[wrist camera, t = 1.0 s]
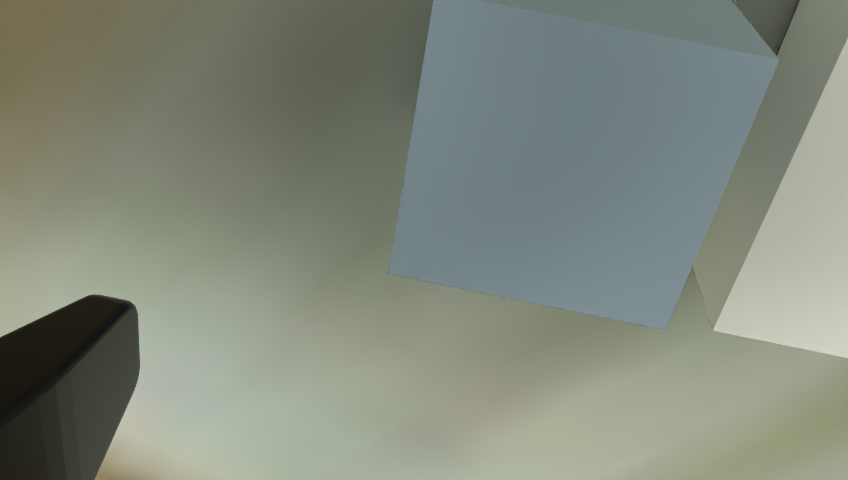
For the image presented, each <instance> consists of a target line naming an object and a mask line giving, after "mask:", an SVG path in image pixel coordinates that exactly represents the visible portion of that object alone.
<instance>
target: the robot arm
mask: <svg viewBox="0 0 848 480" xmlns="http://www.w3.org/2000/svg"><path fill="white" fill-rule="evenodd" d="M139 370H140V355H139V330H138V313H137V310H136V307H135V305H134V304H133V303H131V302H130V301H127V300H122V299H117V298H113V297H108V296H103V295H89V296H87V297H84V298H82V299H80V300H78V301H76V302H73V303H71V304H69V305H67V306H65V307H63V308H61V309H59V310H57V311H55V312H52V313H50V314H48V315H46V316H44V317H42V318H40V319H38V320H36V321H34V322H31V323H29V324H27V325H25V326H23V327H21V328H19V329H17V330H15V331H13V332H10V333H8V334H6V335H4V336H2V337H0V480H95V477H96V475H97V473H98V471H99V468H100V466H101V464H102V462H103V459H104V457H105V455H106V453H107V450H108V448H109V446H110V444H111V441H112V439H113V437H114V435H115V432H116V430H117V428H118V426H119V423H120V421H121V419H122V417H123V414H124V412H125V410H126V408H127V405H128V403H129V401H130V399H131V396H132V394H133V392H134V389H135V387H136V384H137V381H138V376H139Z"/></svg>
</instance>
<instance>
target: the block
mask: <svg viewBox="0 0 848 480" xmlns="http://www.w3.org/2000/svg"><path fill="white" fill-rule="evenodd" d="M778 62H779V58H778V57H777V56H776V55H775V53H774V52H773V51H772V50H771V48H770V47H769V46H768V45H767V43H766V42H765V41H764V40H763V39H762V37H761V36H760V35H759V34H758V32H757V31H756V30H755V29H754V27H753V26H752V25H751V24H750V22H749V21H748V20H747V19H746V18H745V16H744V15H743V14H742V13H741V11H740V10H739V9H738V8H737V6H736V5H735V4H734V3H733V2H732V0H433V6H432V12H431V18H430V24H429V30H428V36H427V42H426V48H425V54H424V60H423V66H422V72H421V78H420V84H419V90H418V96H417V102H416V108H415V114H414V120H413V125H412V131H411V137H410V143H409V149H408V155H407V161H406V167H405V173H404V179H403V185H402V191H401V197H400V203H399V209H398V215H397V221H396V227H395V233H394V239H393V245H392V251H391V257H390V263H389V269H388V274H392V275H397V276H402V277H407V278H411V279H416V280H421V281H426V282H431V283H436V284H441V285H446V286H451V287H456V288H461V289H465V290H470V291H475V292H480V293H485V294H490V295H495V296H500V297H505V298H510V299H515V300H519V301H524V302H529V303H534V304H539V305H544V306H549V307H554V308H559V309H564V310H569V311H573V312H578V313H583V314H588V315H593V316H598V317H603V318H608V319H613V320H618V321H623V322H627V323H632V324H637V325H642V326H647V327H652V328H657V329H662V330H666V329H667V326H668V324H669V321H670V319H671V317H672V314H673V312H674V310H675V307H676V305H677V302H678V300H679V298H680V295H681V293H682V291H683V288H684V286H685V283H686V281H687V279H688V276H689V274H690V271H691V269H692V267H693V264H694V262H695V260H696V257H697V255H698V252H699V250H700V248H701V245H702V243H703V241H704V238H705V236H706V233H707V231H708V229H709V226H710V224H711V221H712V219H713V217H714V214H715V212H716V210H717V207H718V205H719V202H720V200H721V198H722V195H723V193H724V191H725V188H726V186H727V183H728V181H729V179H730V176H731V174H732V172H733V169H734V167H735V164H736V162H737V160H738V157H739V155H740V152H741V150H742V148H743V145H744V143H745V141H746V138H747V136H748V133H749V131H750V129H751V126H752V124H753V122H754V119H755V117H756V114H757V112H758V110H759V107H760V105H761V102H762V100H763V98H764V95H765V93H766V91H767V88H768V86H769V83H770V81H771V79H772V76H773V74H774V72H775V69H776V67H777V64H778Z"/></svg>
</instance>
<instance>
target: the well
mask: <svg viewBox="0 0 848 480" xmlns="http://www.w3.org/2000/svg"><path fill="white" fill-rule="evenodd" d="M777 57H778V58H779V62H778V64H777V67H776V69H775V72H774V74H773V76H772V79H771V81H770V83H769V86H768V88H767V91H766V93H765V95H764V98H763V100H762V102H761V105H760V107H759V110H758V112H757V114H756V117H755V119H754V122H753V124H752V126H751V129H750V131H749V133H748V136H747V138H746V141H745V143H744V145H743V148H742V150H741V152H740V155H739V157H738V160H737V162H736V164H735V167H734V169H733V172H732V174H731V176H730V179H729V181H728V183H727V186H726V188H725V191H724V193H723V195H722V198H721V200H720V202H719V205H718V207H717V210H716V212H715V214H714V217H713V219H712V221H711V224H710V226H709V229H708V231H707V233H706V236H705V238H704V241H703V243H702V245H701V248H700V250H699V252H698V255H697V257H696V260H695V262H694V264H693V269H694V272H695V275H696V278H697V282H698V285H699V288H700V291H701V294H702V298H703V301H704V304H705V307H706V311H707V314H708V317H709V320H710V323H711V327H712V330H713V331H717V332H722V333H727V334H732V335H737V336H742V337H747V338H752V339H757V340H762V341H766V342H771V343H776V344H781V345H786V346H791V347H796V348H801V349H806V350H811V351H816V352H821V353H825V354H830V355H835V356H840V357H845V358H848V0H800V2H799V4H798V6H797V9H796V11H795V14H794V16H793V18H792V21H791V23H790V26H789V28H788V30H787V33H786V35H785V38H784V40H783V42H782V45H781V47H780V50H779V52H778V54H777Z"/></svg>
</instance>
